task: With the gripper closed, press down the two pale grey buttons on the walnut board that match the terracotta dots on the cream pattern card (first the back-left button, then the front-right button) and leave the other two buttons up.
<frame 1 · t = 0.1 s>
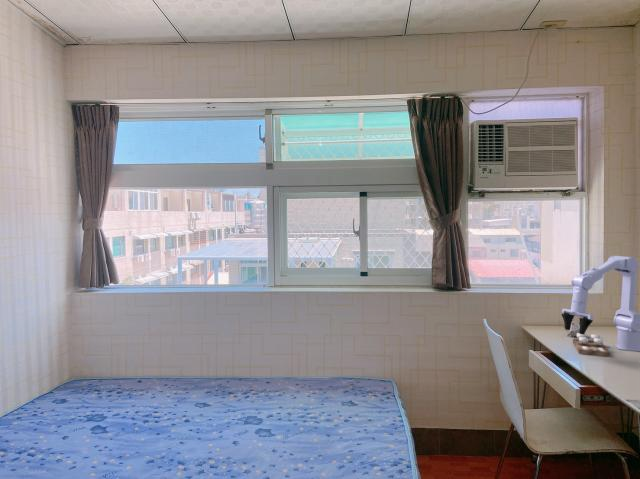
hand: (574, 332, 197), 11 cm above the table, tool pointing down, fingers open, 7 cm apart
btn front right: (598, 341, 204), point 4 cm above the table, slide at 0.0 cm
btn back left: (580, 335, 213), point 4 cm above the table, slide at 0.0 cm
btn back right: (595, 337, 210), point 4 cm above the table, slide at 0.0 cm
button board: (590, 349, 206), on the table
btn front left: (583, 339, 206), point 4 cm above the table, slide at 0.0 cm
game die: (573, 336, 228), on the table
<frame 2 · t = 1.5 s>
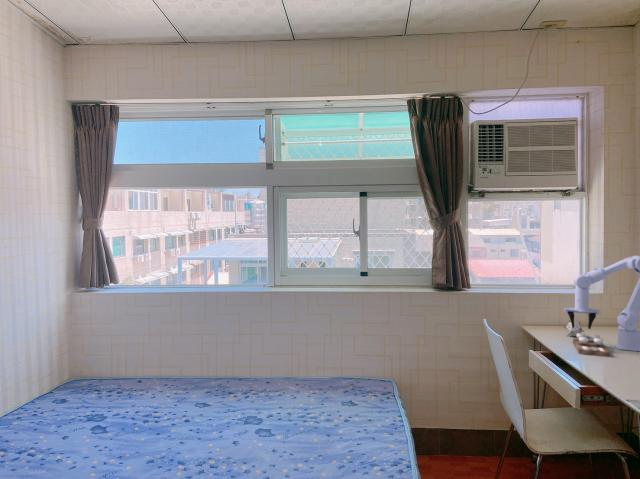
hand: (581, 327, 213), 8 cm above the table, tool pointing down, fingers open, 6 cm apart
nothing on the table moved.
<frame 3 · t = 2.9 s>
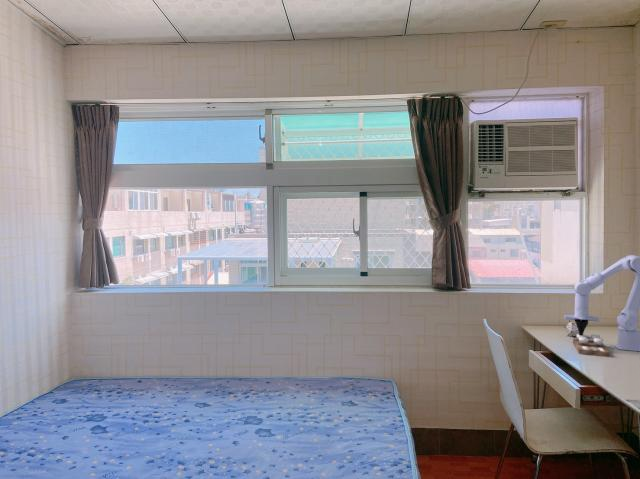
hand: (580, 335, 213), 5 cm above the table, tool pointing down, fingers closed, pressing on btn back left
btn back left: (580, 336, 213), point 4 cm above the table, slide at 0.4 cm, touching gripper
everything else where it was.
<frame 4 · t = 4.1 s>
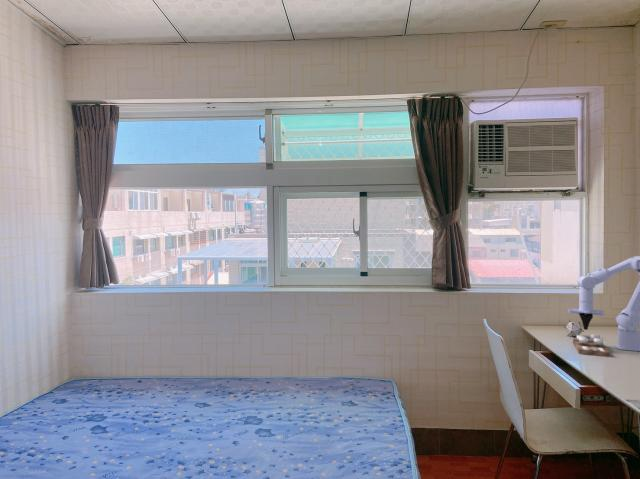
hand: (585, 329, 210), 8 cm above the table, tool pointing down, fingers closed
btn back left: (580, 337, 213), point 3 cm above the table, slide at 1.0 cm
everything else where it was.
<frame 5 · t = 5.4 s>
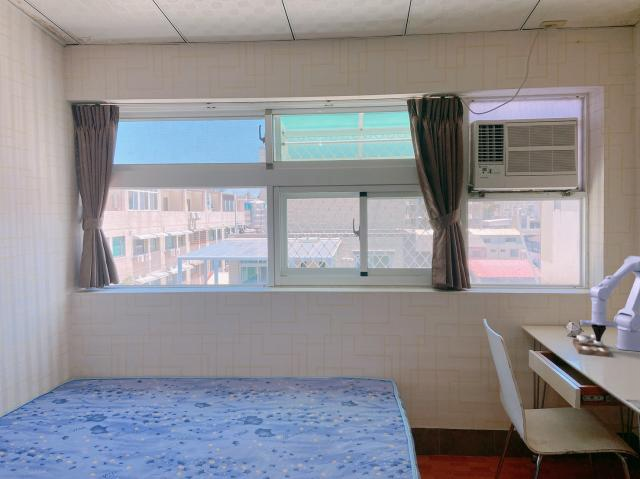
hand: (598, 341, 204), 4 cm above the table, tool pointing down, fingers closed, pressing on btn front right
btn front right: (598, 342, 204), point 3 cm above the table, slide at 0.9 cm, touching gripper
everything else where it was.
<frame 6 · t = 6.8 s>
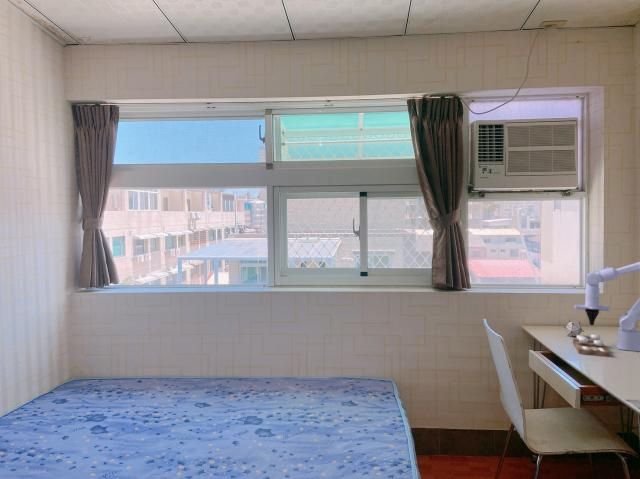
hand: (591, 324, 214), 9 cm above the table, tool pointing down, fingers closed
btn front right: (598, 343, 204), point 3 cm above the table, slide at 1.0 cm
everything else where it was.
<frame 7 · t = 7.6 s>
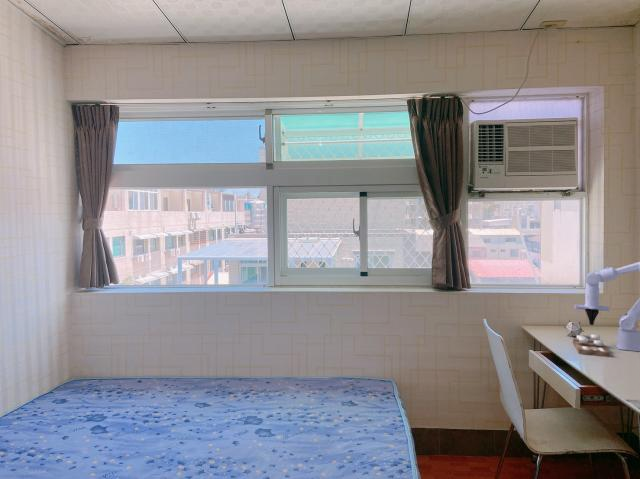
hand: (591, 324, 215), 9 cm above the table, tool pointing down, fingers closed
nothing on the table moved.
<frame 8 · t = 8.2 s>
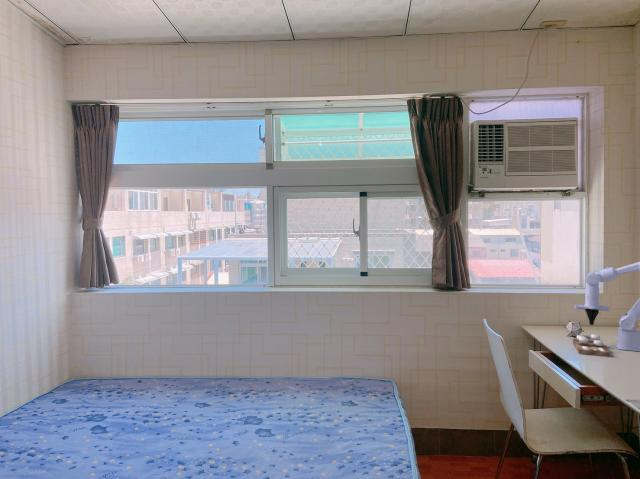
hand: (591, 324, 215), 9 cm above the table, tool pointing down, fingers closed
nothing on the table moved.
at the end: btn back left slide at 1.0 cm; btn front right slide at 1.0 cm; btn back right slide at 0.0 cm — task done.
